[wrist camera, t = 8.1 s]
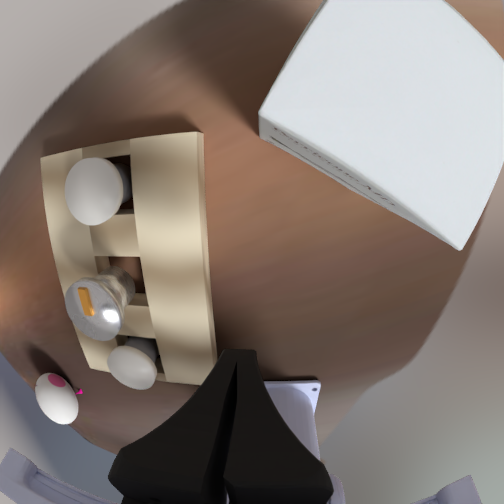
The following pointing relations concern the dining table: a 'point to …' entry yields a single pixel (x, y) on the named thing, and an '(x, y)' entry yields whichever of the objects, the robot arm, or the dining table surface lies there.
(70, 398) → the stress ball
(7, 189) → the dining table surface
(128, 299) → the dial
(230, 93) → the dining table surface
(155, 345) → the knob
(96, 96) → the dining table surface
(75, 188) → the knob
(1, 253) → the dining table surface
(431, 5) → the supplement box
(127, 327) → the board
